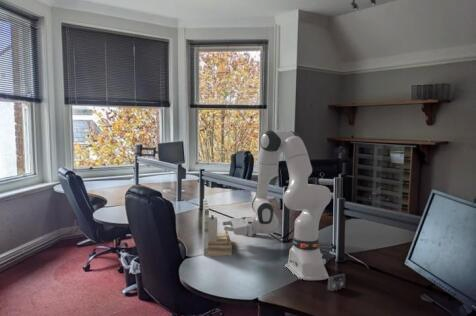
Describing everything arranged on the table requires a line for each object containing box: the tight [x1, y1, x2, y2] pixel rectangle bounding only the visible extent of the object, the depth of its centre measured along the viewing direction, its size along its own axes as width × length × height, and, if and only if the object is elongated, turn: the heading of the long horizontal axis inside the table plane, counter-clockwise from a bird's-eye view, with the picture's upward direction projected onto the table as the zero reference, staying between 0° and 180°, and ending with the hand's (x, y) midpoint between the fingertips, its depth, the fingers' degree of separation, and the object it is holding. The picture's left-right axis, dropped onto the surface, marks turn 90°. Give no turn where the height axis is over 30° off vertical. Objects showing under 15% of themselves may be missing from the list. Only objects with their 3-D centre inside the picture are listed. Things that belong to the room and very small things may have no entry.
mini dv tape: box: [326, 273, 347, 292], centre depth 152 cm, size 8×2×6 cm, turn 118°
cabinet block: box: [208, 214, 218, 242], centre depth 197 cm, size 5×5×14 cm
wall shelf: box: [202, 198, 233, 257], centre depth 197 cm, size 24×14×24 cm, turn 7°
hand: (223, 225), depth 198 cm, fingers open, 8 cm apart
